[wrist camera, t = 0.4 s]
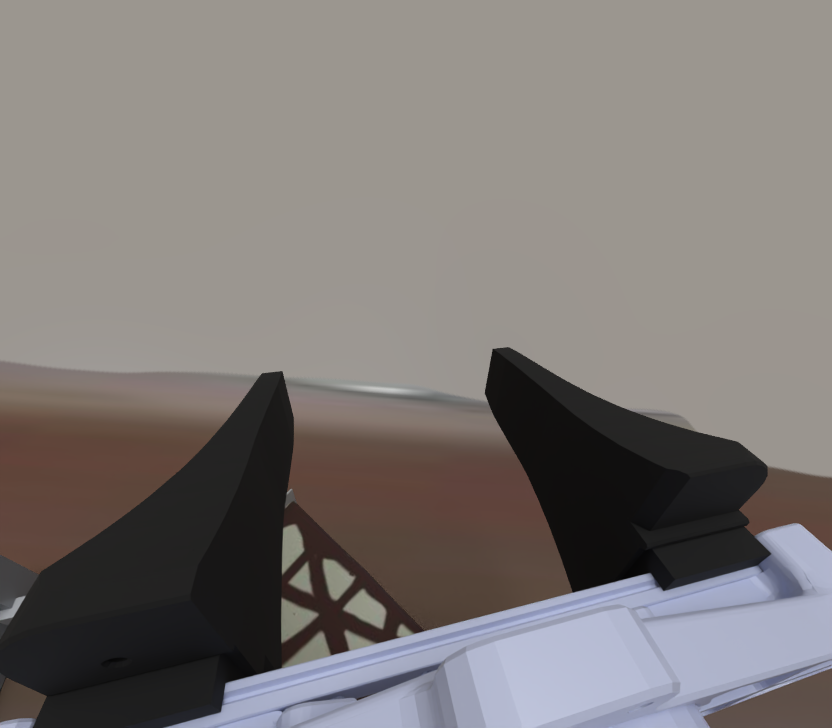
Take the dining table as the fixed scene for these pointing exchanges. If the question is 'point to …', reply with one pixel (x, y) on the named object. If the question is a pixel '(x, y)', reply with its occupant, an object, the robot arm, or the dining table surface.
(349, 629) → the food container
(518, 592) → the dining table surface
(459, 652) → the robot arm
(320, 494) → the dining table surface
